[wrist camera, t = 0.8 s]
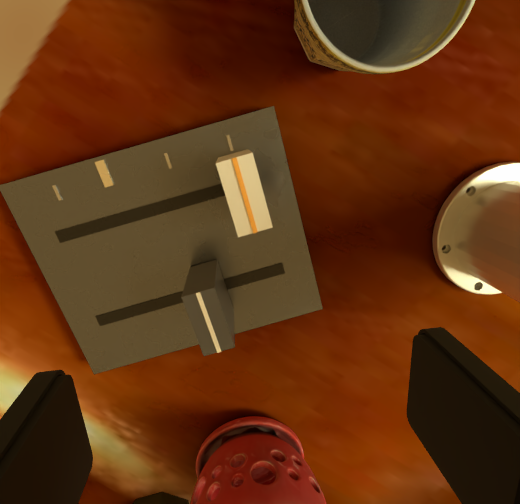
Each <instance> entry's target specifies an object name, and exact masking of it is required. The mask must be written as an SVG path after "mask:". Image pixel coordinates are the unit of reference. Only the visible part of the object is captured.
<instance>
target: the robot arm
mask: <svg viewBox="0 0 520 504" xmlns="http://www.w3.org/2000/svg"><path fill="white" fill-rule="evenodd" d="M432 242H433V253H434V256H435V260H436V263H437V265H438V266H439V268H440V270H441V272H442V273H443V274H444V275H445V276H446V277H447V278H448V279H449V280H450V281H451V282H453V283H454V284H456V285H457V286H459V287H461V288H462V289H464V290H466V291H469V292H472V293H476V294H487V295H490V294H499V293H504V294H506V295H508V296H509V297H511V298H513V299H515V300H516V301H518V302H520V162H504V163H498V164H494V165H491V166H487V167H485V168H483V169H481V170H479V171H477V172H475V173H473V174H472V175H470V176H469V177H467V178H466V179H465V180H463V181H462V182H461V183H460V184H459V185H458V186H457V187H456V188H455V189H454V190H453V191H452V192H451V194H450V195H449V196H448V198H447V199H446V200H445V202H444V203H443V205H442V207H441V209H440V211H439V213H438V216H437V219H436V222H435V225H434V230H433V238H432ZM407 418H408V421H409V424H410V425H411V427H412V429H413V430H414V432H415V433H416V435H417V436H418V438H419V439H420V441H421V442H422V444H423V445H424V447H425V448H426V450H427V451H428V453H429V454H430V456H431V457H432V459H433V461H434V462H435V464H436V465H437V467H438V468H439V470H440V471H441V473H442V474H443V476H444V477H445V479H446V480H447V482H448V483H449V485H450V486H451V488H452V489H453V491H454V492H455V494H456V495H457V497H458V498H459V500H460V501H461V503H462V504H520V393H519V392H518V391H516V390H515V389H514V388H513V387H512V386H511V385H509V384H508V383H507V382H506V381H505V380H504V379H502V378H501V377H500V376H499V375H498V374H497V373H495V372H494V371H493V370H492V369H491V368H490V367H488V366H487V365H486V364H485V363H484V362H483V361H481V360H480V359H479V358H478V357H477V356H476V355H474V354H473V353H472V352H471V351H470V350H469V349H468V348H466V347H465V346H464V345H463V344H462V343H461V342H459V341H458V340H457V339H456V338H455V337H454V336H452V335H451V334H450V333H449V332H448V331H447V330H445V329H444V328H441V327H439V328H430V329H422V330H420V331H419V333H418V335H416V336H414V338H413V347H412V358H411V369H410V380H409V391H408V403H407ZM92 461H93V455H92V450H91V446H90V443H89V439H88V435H87V431H86V428H85V424H84V420H83V416H82V413H81V409H80V405H79V401H78V397H77V394H76V390H75V386H74V382H73V379H72V377H71V375H65V373H64V371H62V370H55V371H46V372H39V373H36V374H35V375H34V376H33V377H32V379H31V380H30V381H29V383H28V384H27V385H26V387H25V388H24V389H23V391H22V392H21V393H20V395H19V396H18V397H17V398H16V400H15V401H14V402H13V404H12V405H11V406H10V408H9V409H8V410H7V412H6V413H5V414H4V415H3V417H2V418H1V419H0V504H78V502H79V500H80V497H81V494H82V492H83V489H84V487H85V484H86V481H87V479H88V476H89V473H90V471H91V468H92Z"/></svg>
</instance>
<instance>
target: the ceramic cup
mask: <svg viewBox="0 0 520 504" xmlns="http://www.w3.org/2000/svg"><path fill="white" fill-rule="evenodd" d="M474 2H475V0H294V4H295V9H294V29H295V32H296V34H297V36H298V38H299V40H300V42H301V45H302V47H303V49H304V51H305V53H306V55H307V57H308V59H309V60H310V61H311V62H314V63H317V64H320V65H323V66H327V67H330V68H333V69H336V70H340V71H354V72H358V73H365V74H386V73H392V72H397V71H402V70H406V69H409V68H411V67H414V66H416V65H419V64H421V63H422V62H424V61H426V60H427V59H429V58H431V57H432V56H433V55H435V54H436V53H437V52H439V51H440V50H441V49H442V48H443V47H444V46H445V45H446V44H447V43H448V42H449V41H450V40H451V39H452V38H453V37H454V36H455V34H456V33H457V32H458V30H459V29H460V28H461V26H462V25H463V23H464V22H465V20H466V19H467V17H468V15H469V13H470V11H471V9H472V7H473V5H474Z"/></svg>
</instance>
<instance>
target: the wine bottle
mask: <svg viewBox="0 0 520 504" xmlns="http://www.w3.org/2000/svg"><path fill="white" fill-rule="evenodd" d="M133 504H189V502H188V500H186V499H182V498H179V497H176V496H173V495H170V494H167V493H164V492H160V493H157V494H153V495H150V496H146V497H143V498H139V499H136V500H135V501H134V503H133Z"/></svg>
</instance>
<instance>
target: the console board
mask: <svg viewBox="0 0 520 504" xmlns="http://www.w3.org/2000/svg"><path fill="white" fill-rule="evenodd" d="M246 149H248V150H250V151H251V152H253V156H254V160H255V163H256V167H257V171H258V174H259V178H260V182H261V185H262V189H263V193H264V197H265V200H266V204H267V208H268V211H269V215H270V219H271V223H272V226H273V228H269V229H266V230H262V231H259V232H257V233H252V234H248V235H245V236H241V237H238V235H237V232H236V228H235V225H234V222H233V219H232V215H231V212H230V209H229V206H228V202H227V199H226V196H225V192H224V189H223V186H222V183H221V179H220V176H219V173H218V170H217V166H216V161H217V159H218V157H222V156H225V155H229V154H232V153H236V152H239V151H243V150H246ZM0 191H1V193H2V195H3V197H4V199H5V201H6V203H7V205H8V207H9V209H10V211H11V212H12V214H13V216H14V218H15V220H16V222H17V224H18V226H19V228H20V230H21V232H22V234H23V236H24V238H25V240H26V242H27V244H28V246H29V248H30V250H31V252H32V254H33V256H34V258H35V259H36V261H37V263H38V265H39V267H40V269H41V271H42V273H43V275H44V277H45V279H46V281H47V283H48V285H49V287H50V289H51V291H52V293H53V295H54V297H55V299H56V301H57V303H58V304H59V306H60V308H61V310H62V312H63V314H64V316H65V318H66V320H67V322H68V324H69V326H70V328H71V330H72V332H73V334H74V336H75V338H76V340H77V342H78V344H79V346H80V348H81V349H82V351H83V353H84V355H85V357H86V359H87V361H88V363H89V365H90V367H91V369H92V371H93V373H94V374H97V373H100V372H104V371H107V370H111V369H114V368H118V367H121V366H125V365H128V364H132V363H135V362H139V361H142V360H146V359H149V358H153V357H156V356H160V355H163V354H167V353H170V352H174V351H177V350H181V349H184V348H188V347H191V346H195V345H198V344H199V342H198V340H197V337H196V334H195V332H194V329H193V327H192V324H191V321H190V319H189V316H188V314H187V311H186V308H185V306H184V303H183V300H182V298H181V296H182V293H183V289H184V286H185V283H186V279H187V276H188V272H189V269H190V267H192V266H196V265H199V264H203V263H206V262H210V261H213V260H217V261H218V264H219V267H220V270H221V273H222V276H223V279H224V282H225V285H226V288H227V291H228V294H229V297H230V300H231V303H232V306H233V309H234V331H235V334H237V333H240V332H244V331H247V330H251V329H254V328H258V327H261V326H265V325H268V324H272V323H275V322H279V321H282V320H286V319H289V318H293V317H296V316H300V315H303V314H307V313H310V312H314V311H317V310H321V309H323V308H322V303H321V299H320V295H319V291H318V287H317V283H316V279H315V274H314V270H313V266H312V262H311V258H310V254H309V250H308V245H307V241H306V237H305V233H304V229H303V225H302V221H301V216H300V212H299V208H298V204H297V200H296V196H295V192H294V187H293V183H292V179H291V175H290V171H289V167H288V163H287V158H286V154H285V150H284V146H283V142H282V138H281V134H280V129H279V125H278V121H277V117H276V113H275V109H274V106H272V107H269V108H265V109H262V110H258V111H255V112H251V113H248V114H244V115H241V116H237V117H234V118H231V119H227V120H224V121H220V122H217V123H213V124H210V125H206V126H203V127H199V128H196V129H193V130H189V131H186V132H182V133H179V134H175V135H172V136H168V137H165V138H161V139H158V140H154V141H151V142H148V143H144V144H141V145H137V146H134V147H130V148H127V149H123V150H120V151H116V152H113V153H110V154H106V155H103V156H99V157H96V158H92V159H89V160H85V161H82V162H78V163H75V164H71V165H68V166H65V167H61V168H58V169H54V170H51V171H47V172H44V173H40V174H37V175H33V176H30V177H27V178H23V179H20V180H16V181H13V182H9V183H6V184H2V185H0Z"/></svg>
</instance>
